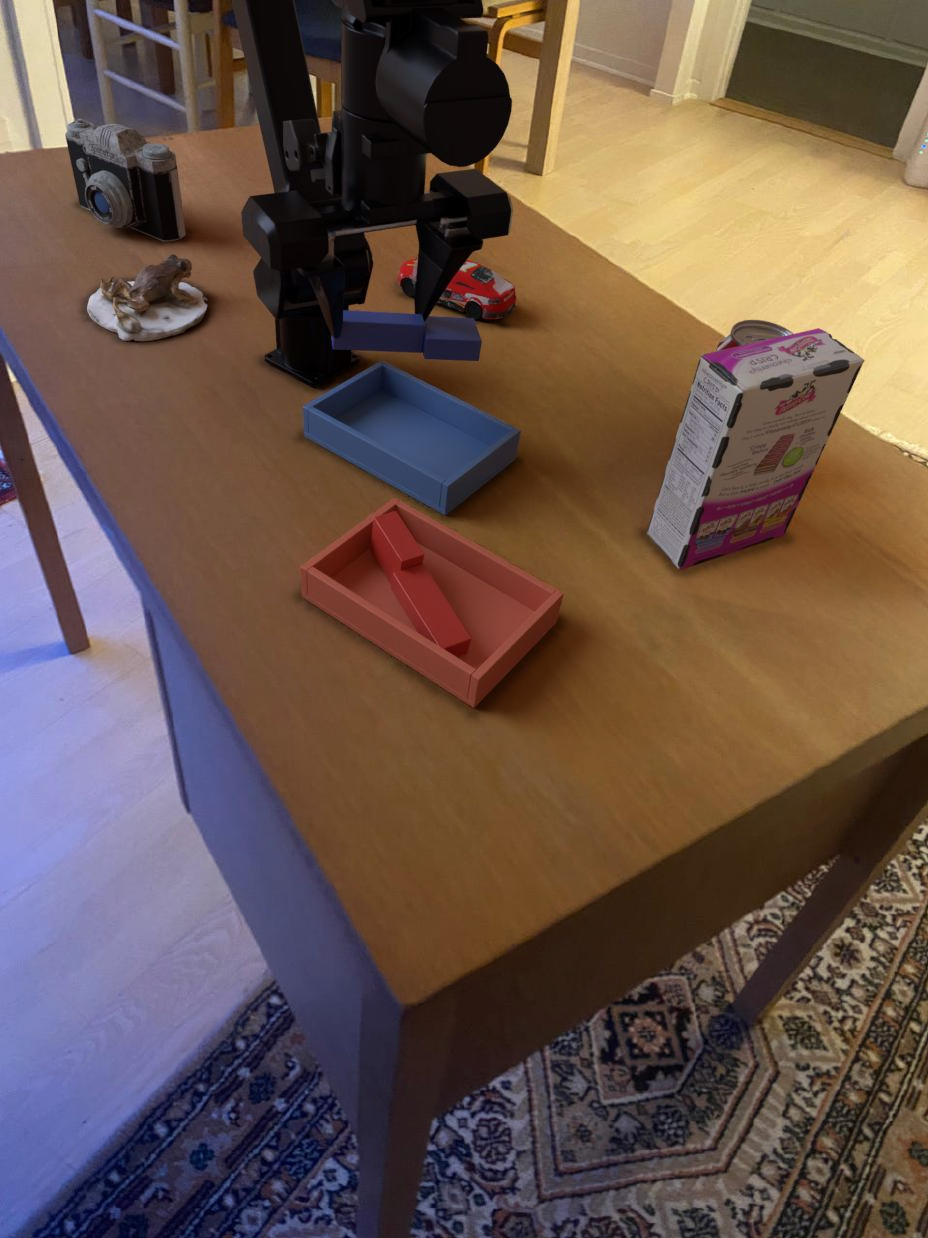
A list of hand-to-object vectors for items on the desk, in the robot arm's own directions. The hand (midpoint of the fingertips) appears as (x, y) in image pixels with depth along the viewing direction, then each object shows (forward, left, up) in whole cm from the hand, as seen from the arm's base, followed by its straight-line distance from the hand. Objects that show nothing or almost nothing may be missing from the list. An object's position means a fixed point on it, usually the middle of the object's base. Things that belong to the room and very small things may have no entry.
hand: (378, 327), depth 69 cm
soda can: (+24, +19, -11) cm, 33 cm away
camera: (-46, +11, -11) cm, 49 cm away
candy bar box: (+28, +9, -11) cm, 31 cm away
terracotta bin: (+16, -13, -11) cm, 23 cm away
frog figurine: (-30, +1, -11) cm, 32 cm away
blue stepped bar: (+1, +1, -2) cm, 3 cm away
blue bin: (+3, +1, -11) cm, 11 cm away
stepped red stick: (+16, -12, -8) cm, 22 cm away
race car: (-10, +25, -11) cm, 29 cm away
